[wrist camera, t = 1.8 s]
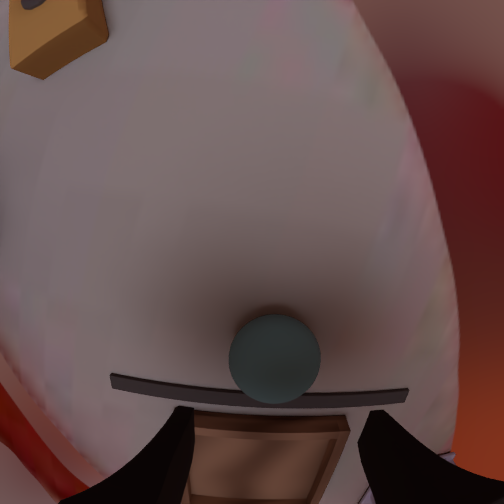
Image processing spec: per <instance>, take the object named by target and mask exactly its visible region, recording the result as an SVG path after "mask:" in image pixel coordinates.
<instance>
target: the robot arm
mask: <svg viewBox="0 0 504 504" xmlns="http://www.w3.org/2000/svg"><path fill="white" fill-rule="evenodd" d="M357 443H358V448H359V454H360V458H361V463H362V466H363V469H364V472H365V474H366V477H367V480H368V483H369V486H370V487H369V489H368V490H367V492H366V493H365V495H364V496H363V498H362V500H361V501H360V503H359V504H504V481H499V480H495V479H490V478H486V477H483V476H480V475H477V474H474V473H472V472H469V471H467V470H464V469H462V468H460V467H458V466H456V465H455V463H454V461H453V458H454V457H455V453H454V452H451V453H448V454H444V455H440V456H438V455H437V454H435V453H434V452H433V451H431V450H430V449H428V448H427V447H426V446H424V445H423V444H422V443H421V442H419V441H418V440H417V439H416V438H415V437H413V436H412V435H411V434H410V433H409V432H408V431H406V430H405V429H404V428H403V427H402V426H401V425H400V424H399V423H398V422H397V421H395V420H394V419H393V418H392V417H391V416H390V415H389V414H388V413H387V412H385V411H384V410H374V411H370V413H369V416H368V418H367V421H366V423H365V426H364V428H363V431H362V433H361V435H360V438H359V440H358V442H357ZM194 446H195V425H194V408H192V407H185V406H177V407H176V408H175V410H174V411H173V413H172V414H171V416H170V417H169V419H168V420H167V422H166V423H165V424H164V426H163V427H162V428H161V429H160V431H159V432H158V433H157V434H156V435H155V437H154V438H153V439H152V440H151V441H150V442H149V443H148V444H147V445H146V446H145V447H144V448H143V449H142V450H141V451H140V452H139V453H138V454H137V455H136V456H135V457H134V458H133V459H132V460H131V461H130V462H128V463H127V464H126V465H125V466H123V467H122V468H121V469H119V470H118V471H117V472H115V473H114V474H112V475H111V476H110V477H108V478H106V479H105V480H103V481H102V482H100V483H98V484H96V485H94V486H92V487H91V488H89V489H87V490H85V491H83V492H80V493H78V494H76V495H73V496H71V497H68V498H66V499H63V500H60V502H59V503H58V504H181V501H182V497H183V494H184V490H185V486H186V483H187V479H188V475H189V472H190V468H191V464H192V460H193V453H194Z"/></svg>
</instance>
